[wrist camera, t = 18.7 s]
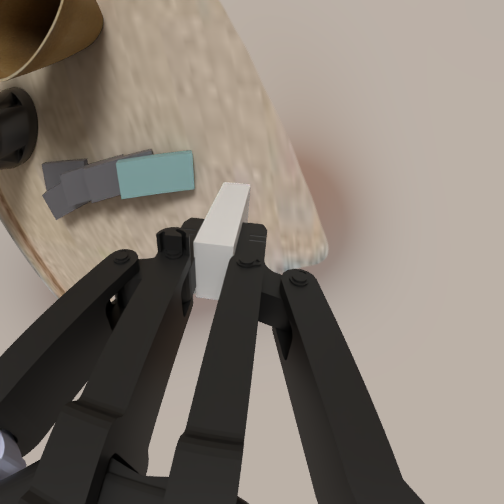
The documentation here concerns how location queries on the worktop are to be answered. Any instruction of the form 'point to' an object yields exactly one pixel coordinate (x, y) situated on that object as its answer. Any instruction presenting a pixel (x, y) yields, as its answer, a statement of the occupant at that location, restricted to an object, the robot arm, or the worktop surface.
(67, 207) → the domino
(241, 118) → the worktop surface
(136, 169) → the domino
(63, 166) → the domino
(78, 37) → the plant pot
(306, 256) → the worktop surface
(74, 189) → the domino
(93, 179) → the domino
